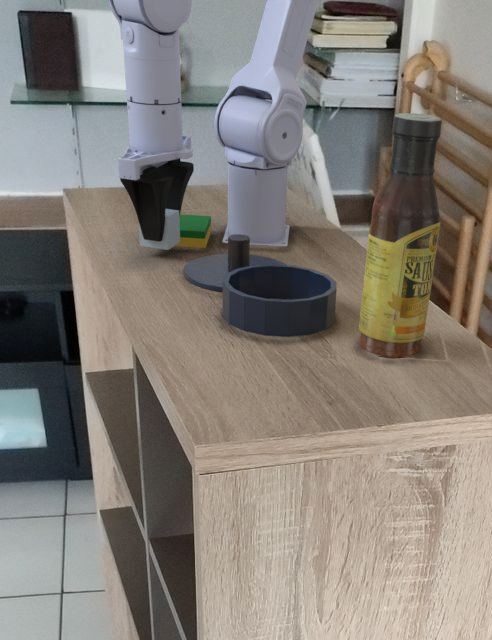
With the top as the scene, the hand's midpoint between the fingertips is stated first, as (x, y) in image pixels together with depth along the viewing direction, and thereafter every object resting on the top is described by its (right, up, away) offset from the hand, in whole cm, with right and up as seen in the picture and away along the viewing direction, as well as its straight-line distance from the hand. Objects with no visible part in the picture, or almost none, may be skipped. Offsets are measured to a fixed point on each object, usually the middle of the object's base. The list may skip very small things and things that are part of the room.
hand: (160, 235), depth 103 cm
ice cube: (0, -1, +1) cm, 1 cm away
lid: (+9, -6, -3) cm, 11 cm away
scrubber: (+3, +2, +7) cm, 8 cm away
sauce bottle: (+25, -18, -17) cm, 35 cm away
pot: (+14, -14, -12) cm, 23 cm away
